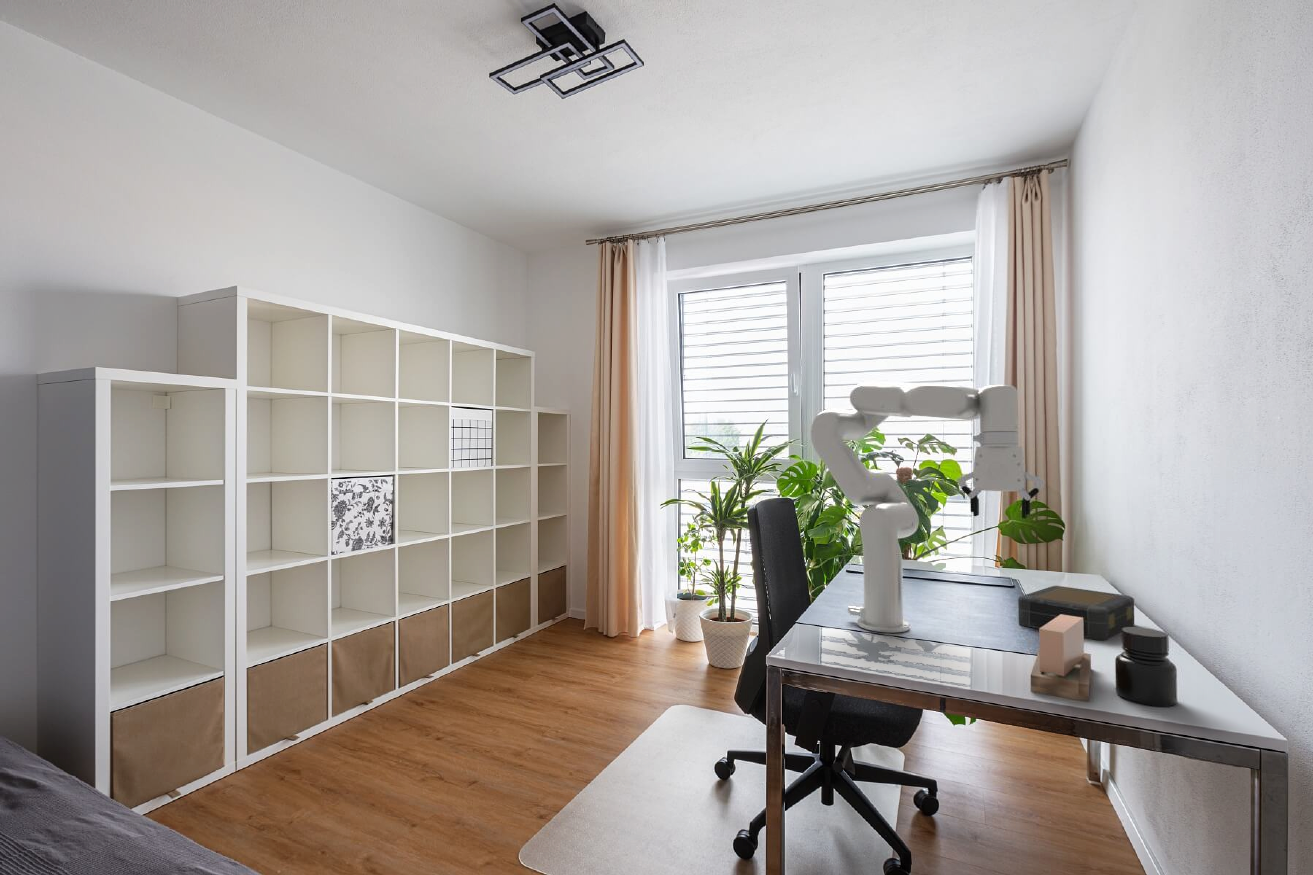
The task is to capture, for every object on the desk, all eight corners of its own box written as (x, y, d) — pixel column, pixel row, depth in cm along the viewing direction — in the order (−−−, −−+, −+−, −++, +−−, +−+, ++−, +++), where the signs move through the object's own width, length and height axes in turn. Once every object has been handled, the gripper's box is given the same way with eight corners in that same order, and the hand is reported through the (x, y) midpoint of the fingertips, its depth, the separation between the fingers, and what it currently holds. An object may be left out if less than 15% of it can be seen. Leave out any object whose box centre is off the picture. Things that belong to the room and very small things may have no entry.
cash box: (1050, 611, 185) (1050, 584, 185) (1136, 625, 169) (1135, 596, 170) (1013, 625, 169) (1013, 595, 170) (1104, 642, 154) (1103, 610, 154)
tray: (1030, 691, 121) (1030, 674, 121) (1040, 660, 139) (1040, 646, 139) (1088, 701, 116) (1088, 684, 116) (1090, 668, 134) (1090, 654, 134)
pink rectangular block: (1039, 671, 123) (1039, 628, 124) (1061, 653, 135) (1060, 614, 135) (1064, 676, 120) (1063, 632, 121) (1083, 657, 132) (1083, 617, 132)
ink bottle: (1192, 706, 114) (1191, 637, 114) (1151, 710, 112) (1150, 640, 112) (1140, 687, 123) (1139, 623, 124) (1102, 690, 121) (1100, 626, 122)
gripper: (953, 440, 147) (954, 516, 147) (1042, 439, 138) (1043, 520, 137) (960, 441, 154) (960, 513, 153) (1045, 440, 144) (1046, 517, 143)
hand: (999, 516), depth 145 cm, fingers open, 9 cm apart
